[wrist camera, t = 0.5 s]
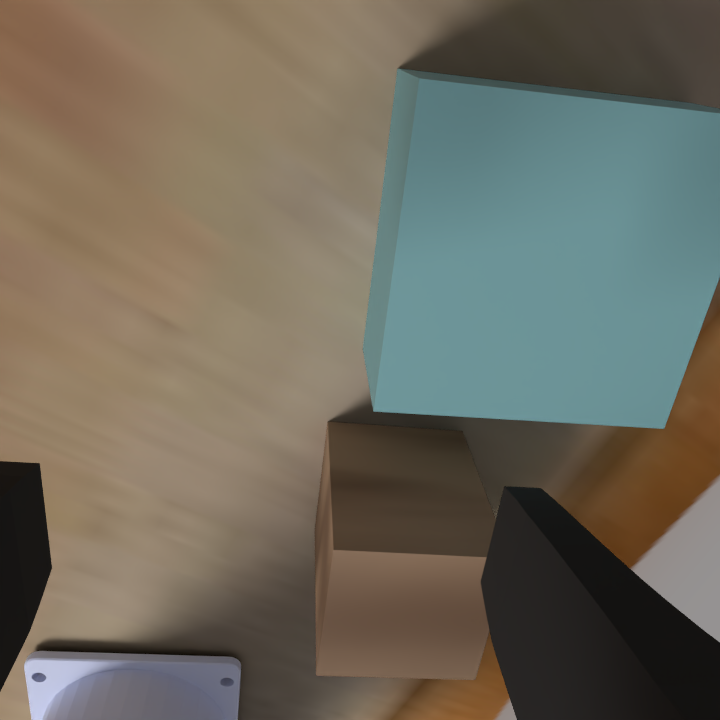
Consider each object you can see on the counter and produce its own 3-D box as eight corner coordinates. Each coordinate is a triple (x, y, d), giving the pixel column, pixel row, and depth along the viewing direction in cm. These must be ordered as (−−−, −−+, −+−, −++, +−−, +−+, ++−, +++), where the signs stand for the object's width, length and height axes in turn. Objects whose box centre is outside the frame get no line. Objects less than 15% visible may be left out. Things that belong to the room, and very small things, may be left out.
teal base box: (605, 362, 22) (664, 428, 18) (362, 345, 21) (373, 411, 17) (685, 101, 18) (777, 120, 15) (396, 67, 17) (419, 78, 14)
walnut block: (438, 535, 24) (475, 679, 19) (314, 528, 24) (316, 675, 18) (461, 430, 22) (510, 558, 17) (327, 421, 22) (333, 549, 16)
